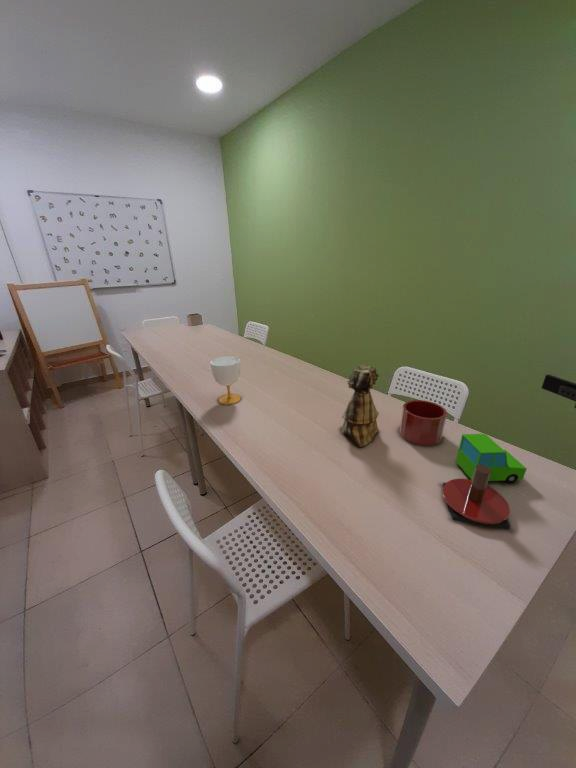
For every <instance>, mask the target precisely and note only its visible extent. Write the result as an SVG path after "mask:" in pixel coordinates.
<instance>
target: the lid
mask: <svg viewBox="0 0 576 768" xmlns="http://www.w3.org/2000/svg"><path fill="white" fill-rule="evenodd" d="M490 475H491V469H490V468H489V467H487V466H484V465H476V467H475V471H474V474H473V478H472V480H471V479H470V478H469V479H468V478H453V479H450V480H448V481H446V482H445V483H446V484H445V485H444V487H443V486H442V496H443V499H444V501H445V502H446V503H447V506H448V507H449V506H450V507H451V508H452V509H454V510H455V511H456V512H458V513H459V514H461V515H462V516H464V517H466V518H468V519H471V520H473V521H476V522H480V523H486V524H497V523H501V522H503V521H505V520H506V519H507V520H508V518H509V516H510V512H511V509H510V506H509V505H510V504H509V502H508V501H507V500H506V499H505V497H504V496H502V494H501V493H499V492H498V491H497V490H496V489H494V488H492V487H490V486H489V485H488V484H489V482H490V481H489V478H490Z"/></svg>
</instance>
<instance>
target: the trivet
mask: <svg viewBox="0 0 576 768" xmlns="http://www.w3.org/2000/svg"><path fill="white" fill-rule="evenodd" d="M446 483H447V482H443V483H442V488H443V487H444V485H445V484H446ZM448 508H449V512H450V515H451V519H452V520H453V521H460V522H465V523H469V524H470V523H472V524H477V525H483V526H489V527H494V528H500V529H505V530H510V527H511V525H510V523H509V520H508V518H507V519H506V520H505V521H503V522H501V523H497V524H486V523H480V522H476V521H473V520H471V519H468V518H466V517H464V516H462V515H461V514H459V513H458V512H456V511H455V510H454V509H452V508H451V507H450V506H449V505H448Z"/></svg>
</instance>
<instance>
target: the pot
mask: <svg viewBox="0 0 576 768" xmlns="http://www.w3.org/2000/svg"><path fill="white" fill-rule="evenodd" d="M447 416H448V412H447V409H446V408H444V407H443V406H442V405H441V404H438V403H436V402H432V401H429V400H420V399H415V400H414V399H413V400H408V401H406V402H405V403H403V405H402V410H401V416H400V424H399V434H400V436H401V437H402V438H403V439H404V440H405V441H406V442H408V443H411V444H413V445H416V446H423V447H433V446H437V445H438V444H440V443H441V442H442V439H443V436H444V430H445V425H446V422H447V421H446V420H447Z"/></svg>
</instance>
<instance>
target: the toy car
mask: <svg viewBox="0 0 576 768" xmlns="http://www.w3.org/2000/svg"><path fill="white" fill-rule="evenodd" d="M455 462H456V463H457V465H459V467H460V468H461V470H462V471H463V472H464V473H465V474H466V475H467V477H468V478H469V480H472V478H473V474H474V471H475V467H476V465H484V466H487V467H489V468H490V469H491V475H490V478H489V481H488V482H497V481H499V482H500V481H502V482H503V481H505V482H506V483H507V484H513V483H515V482H516V481H518V480H523V479H524V477H525V474H526V472H527V467H526V466H525V465H523V463H521V462H520V461H519V460H518V459H517V458H516V457H514V456H513V455H512V454H511V453H510V452H509V451H508V450H507V449H503V448H502V447H501V446H500V445H498V443H497V442H496V441H494V440H493V439H492V438H491V437H490V436H489V435H487V434H486V433H464V434H462V435H461V438H460V443H459V446H458V450H457V454H456V459H455Z"/></svg>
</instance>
